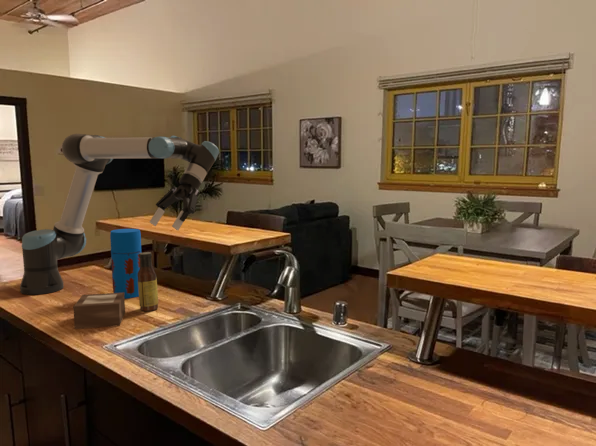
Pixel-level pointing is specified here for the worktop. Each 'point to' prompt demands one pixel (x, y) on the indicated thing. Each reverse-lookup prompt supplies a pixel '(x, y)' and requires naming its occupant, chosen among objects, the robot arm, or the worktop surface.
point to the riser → (99, 310)
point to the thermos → (125, 261)
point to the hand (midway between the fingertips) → (163, 226)
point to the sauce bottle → (147, 283)
